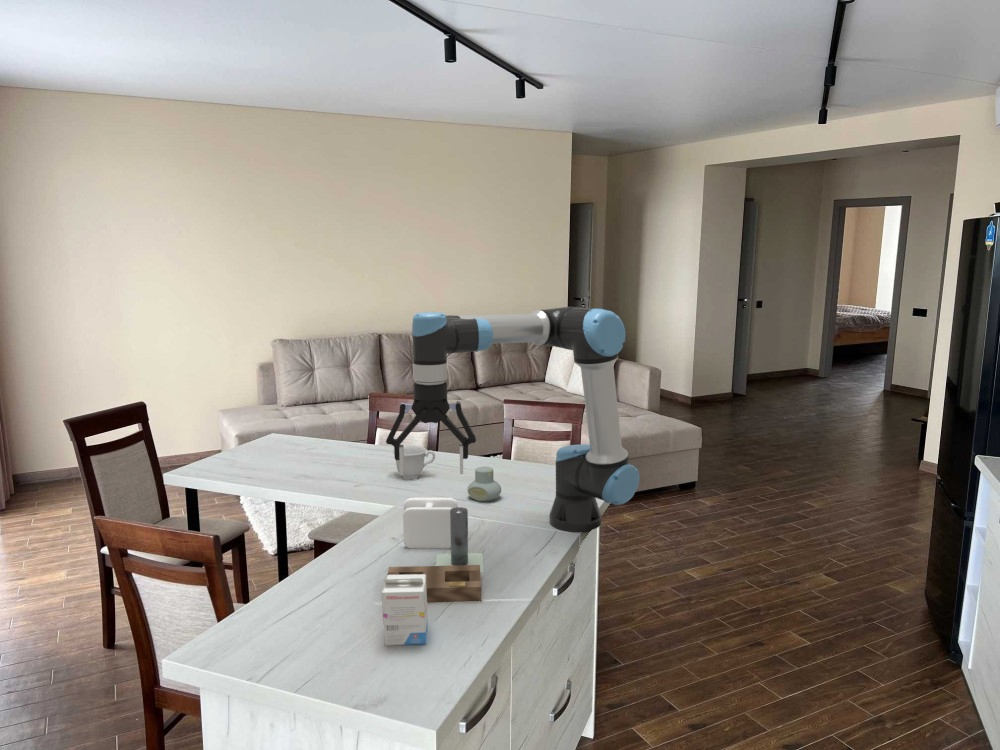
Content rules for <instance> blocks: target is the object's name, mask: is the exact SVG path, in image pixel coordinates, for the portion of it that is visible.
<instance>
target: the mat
mask: <svg viewBox="0 0 1000 750" xmlns="http://www.w3.org/2000/svg"><path fill="white" fill-rule="evenodd" d="M467 565H480V574H483V573H485V569H484V568H485V567H484V556H483V552H475V553H474V552H468V564H467ZM435 566H452V564H451V553H436V557H435Z"/></svg>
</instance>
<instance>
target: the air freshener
mask: <svg viewBox="0 0 1000 750" xmlns="http://www.w3.org/2000/svg"><path fill="white" fill-rule="evenodd" d="M474 474H475V475H474V480H473V481H472V482H471V483H469V484H468V486H467V490H466V491H467V493H468V496H469V497H471V498H472V499H474V500H475V501H477V502H489V501H490V502H491V501H493V500H495V499H497V498H498V497H499V496H500V494H501V493H502V486H501V485H500V483H499V482H497V481H496V480H494V468H493V467H491V466H477V467H476V468H475V472H474Z"/></svg>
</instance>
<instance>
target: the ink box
mask: <svg viewBox="0 0 1000 750" xmlns="http://www.w3.org/2000/svg"><path fill="white" fill-rule="evenodd" d="M383 581H384V585H383V588H382V592H381V602H382V620H383V622H382V623H383V645H384V646H407V645H411V646H412V645H426V644H427V636H428V627H429V626H428V623H429V622H428V620H429V619H428V603H427V589H426V574H413V575H387V574H386V578H385V579H383Z"/></svg>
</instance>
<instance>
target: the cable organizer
mask: <svg viewBox="0 0 1000 750" xmlns="http://www.w3.org/2000/svg"><path fill="white" fill-rule="evenodd" d="M458 504H459V503H458V501H457V500H456V499H455V498H453V497H410V498H407V499H406V500H405V501H404V503H403V514H402V521H403V522H402V525H403V526H402V527H403V529H402V530H403V532H402V533H403V544H404V546H405V547H406V548H408V549H451V535H450V510H451V509H452V508H457V507H459V505H458Z"/></svg>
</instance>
